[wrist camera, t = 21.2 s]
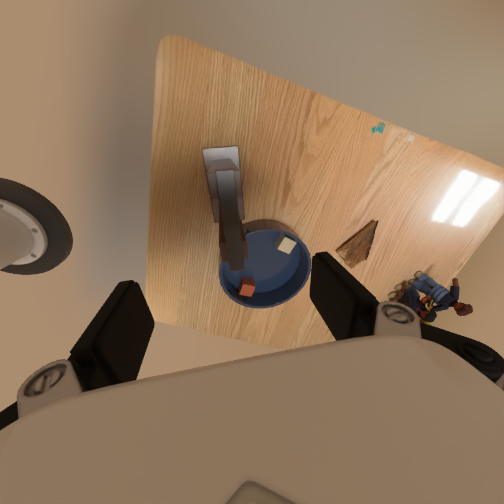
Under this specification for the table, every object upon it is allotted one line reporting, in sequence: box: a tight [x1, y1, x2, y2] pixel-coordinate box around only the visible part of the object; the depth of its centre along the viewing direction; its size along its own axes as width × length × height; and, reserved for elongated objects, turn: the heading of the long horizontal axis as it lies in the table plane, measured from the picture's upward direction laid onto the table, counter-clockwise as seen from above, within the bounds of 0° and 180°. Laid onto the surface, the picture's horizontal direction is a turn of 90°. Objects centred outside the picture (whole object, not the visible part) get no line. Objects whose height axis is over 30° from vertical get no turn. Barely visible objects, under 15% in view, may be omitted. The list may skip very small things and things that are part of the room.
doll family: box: [389, 271, 473, 325], centre depth 53 cm, size 23×9×13 cm, turn 172°
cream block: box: [274, 233, 297, 254], centre depth 43 cm, size 3×3×3 cm
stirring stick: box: [215, 167, 245, 271], centre depth 20 cm, size 2×10×2 cm, turn 4°
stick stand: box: [202, 146, 248, 262], centre depth 29 cm, size 6×13×20 cm, turn 4°
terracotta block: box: [238, 277, 256, 297], centre depth 47 cm, size 3×3×3 cm
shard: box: [336, 221, 378, 269], centre depth 48 cm, size 11×8×2 cm
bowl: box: [219, 220, 311, 308], centre depth 44 cm, size 19×19×6 cm
